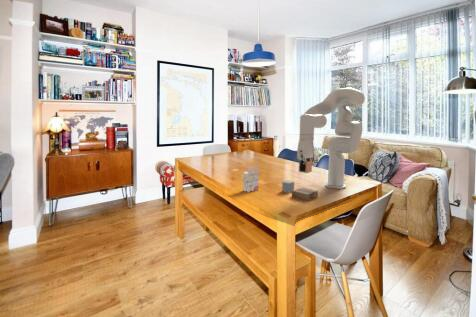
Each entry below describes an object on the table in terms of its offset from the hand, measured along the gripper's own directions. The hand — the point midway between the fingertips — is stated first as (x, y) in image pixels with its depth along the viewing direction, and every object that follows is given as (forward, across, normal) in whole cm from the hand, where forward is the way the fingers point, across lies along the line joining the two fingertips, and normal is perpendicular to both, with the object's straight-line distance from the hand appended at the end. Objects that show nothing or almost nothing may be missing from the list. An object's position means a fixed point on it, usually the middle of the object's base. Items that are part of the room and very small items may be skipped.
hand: (305, 170), depth 140 cm
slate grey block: (+16, -3, -13) cm, 21 cm away
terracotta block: (+1, 0, 0) cm, 1 cm away
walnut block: (+16, 0, 0) cm, 16 cm away
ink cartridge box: (+16, +11, -31) cm, 36 cm away
